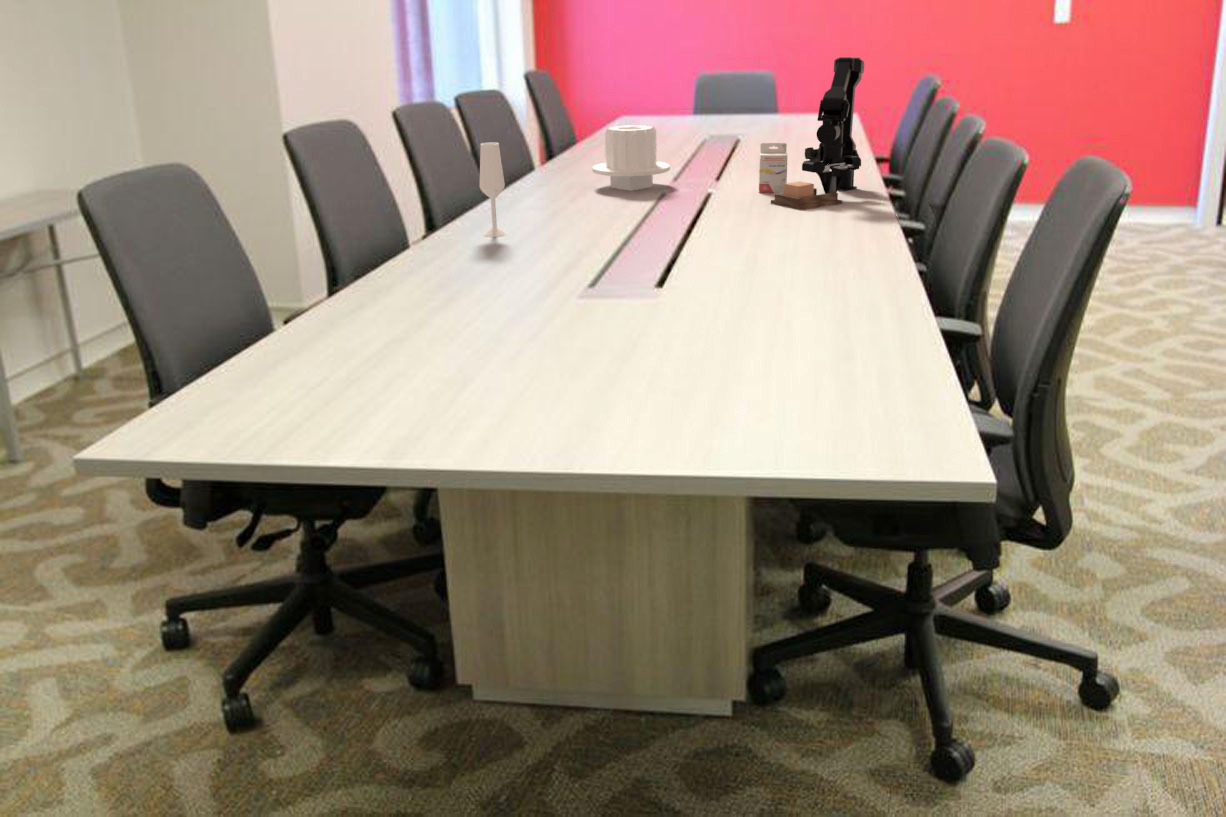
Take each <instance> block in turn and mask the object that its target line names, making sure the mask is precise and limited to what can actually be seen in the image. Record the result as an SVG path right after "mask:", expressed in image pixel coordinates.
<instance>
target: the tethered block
mask: <svg viewBox="0 0 1226 817" xmlns="http://www.w3.org/2000/svg"><path fill="white" fill-rule="evenodd" d="M814 188H815V183H810V182H806V181H795V182H787V183H786V184H784V195H788V196H792V197H797V198H800V197H807V196H813V194H814ZM833 192H836V176H832V179H831V184H830V189H829V192H828V193H833Z"/></svg>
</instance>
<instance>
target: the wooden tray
mask: <svg viewBox="0 0 1226 817" xmlns="http://www.w3.org/2000/svg"><path fill="white" fill-rule="evenodd" d="M817 191H818V189H817V188H815V187H814V194H813V196H807V197H800V198H797V197H792V196H788V195H784V193H774V199H770V204H772V205H777V206H781V207H787V208H791V209H796V210H799V211H804V210H805V211H806V210H811V209H817V208H823V207H830V206H837V205H842V204H843V202H842V199H839V198H838V197H839V196H838V194H839V193H838V191H837V192H833V193H827V194H825V193H822V194H821V193H820V194H818V192H817Z"/></svg>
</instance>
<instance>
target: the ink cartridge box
mask: <svg viewBox="0 0 1226 817" xmlns="http://www.w3.org/2000/svg"><path fill="white" fill-rule="evenodd" d="M787 146H788V145H787V143H786V142H780V143H779V142H765V143H763V142H761V144H760V153H759V162H758V163H759V165H758V167H759V170H758V171H759V172H758V173H759V174H758V193H759V194H762V193H763V194H768V193H769V194H773V193H774V194H778V193H784V184H786V183H788V181H787V178H788V152H787ZM773 147H775V148H773Z"/></svg>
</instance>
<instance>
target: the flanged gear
mask: <svg viewBox="0 0 1226 817" xmlns="http://www.w3.org/2000/svg"><path fill="white" fill-rule="evenodd" d="M604 145H605V146H604V151H605V154H604V156H605V162H602V163H598V164H595V165H592V173H594V174H596V175H600V176H607V177H608V176H609V177H610V179H609V181H610V188H611V189H617V190H622V191H626V192H627V191H628V192H634V191H639V190H644V189H650V188H653V186H654V185H653V184H654V183H653V178H654V177H653V175H659V174H665V173H668V172H669V171H670V170H671V164H669V163H667V162H664V161H657V160H658V158H657V129H656V128H655V127H654V126H650V125H642V124H640V125H639V124H636V125H635V124H632V125H628V124H627V125H617V126H616V125H615V126H610V127H607V128H606V129H605V132H604Z"/></svg>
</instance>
